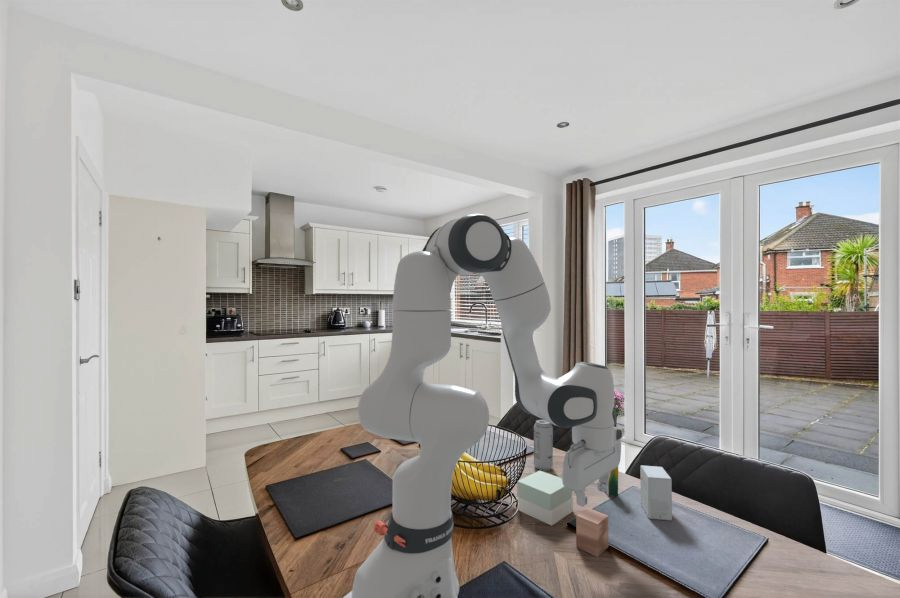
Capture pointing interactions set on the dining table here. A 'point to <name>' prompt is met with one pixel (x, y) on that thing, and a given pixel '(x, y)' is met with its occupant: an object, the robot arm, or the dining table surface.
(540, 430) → the energy drink can
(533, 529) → the dining table surface
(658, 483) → the small box
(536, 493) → the tower top block
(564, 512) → the tower base block
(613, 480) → the crayon box
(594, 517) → the terracotta block
